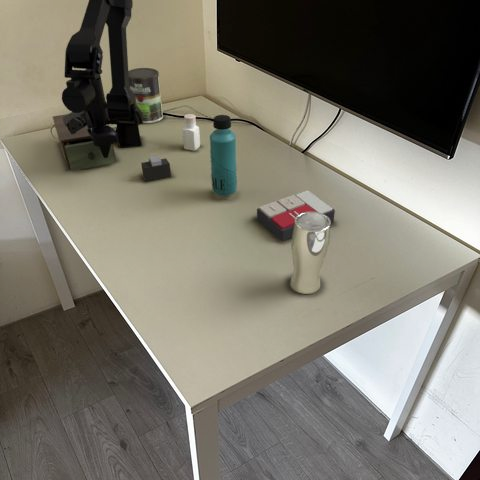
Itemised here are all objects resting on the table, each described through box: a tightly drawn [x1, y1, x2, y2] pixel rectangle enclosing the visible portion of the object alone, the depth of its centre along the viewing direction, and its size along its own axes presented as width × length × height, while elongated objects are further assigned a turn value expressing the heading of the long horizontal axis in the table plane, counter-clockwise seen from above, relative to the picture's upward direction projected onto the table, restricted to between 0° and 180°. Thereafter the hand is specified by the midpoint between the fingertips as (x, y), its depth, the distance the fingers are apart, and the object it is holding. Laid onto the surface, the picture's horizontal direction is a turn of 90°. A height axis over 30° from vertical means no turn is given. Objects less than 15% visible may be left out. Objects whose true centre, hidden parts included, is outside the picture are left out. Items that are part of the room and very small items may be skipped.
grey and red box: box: [256, 190, 336, 242], centre depth 112 cm, size 11×4×15 cm
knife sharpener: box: [140, 154, 172, 183], centre depth 128 cm, size 7×3×5 cm, turn 113°
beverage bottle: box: [209, 114, 237, 197], centre depth 115 cm, size 6×7×20 cm
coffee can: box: [128, 67, 164, 124], centre depth 155 cm, size 10×10×14 cm
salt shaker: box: [181, 113, 201, 152], centre depth 139 cm, size 4×4×10 cm
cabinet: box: [52, 113, 117, 171], centre depth 138 cm, size 18×13×8 cm
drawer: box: [64, 138, 116, 172], centre depth 135 cm, size 19×12×7 cm, turn 23°
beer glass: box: [289, 212, 332, 295], centre depth 91 cm, size 7×7×15 cm
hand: (105, 157), depth 130 cm, fingers closed
